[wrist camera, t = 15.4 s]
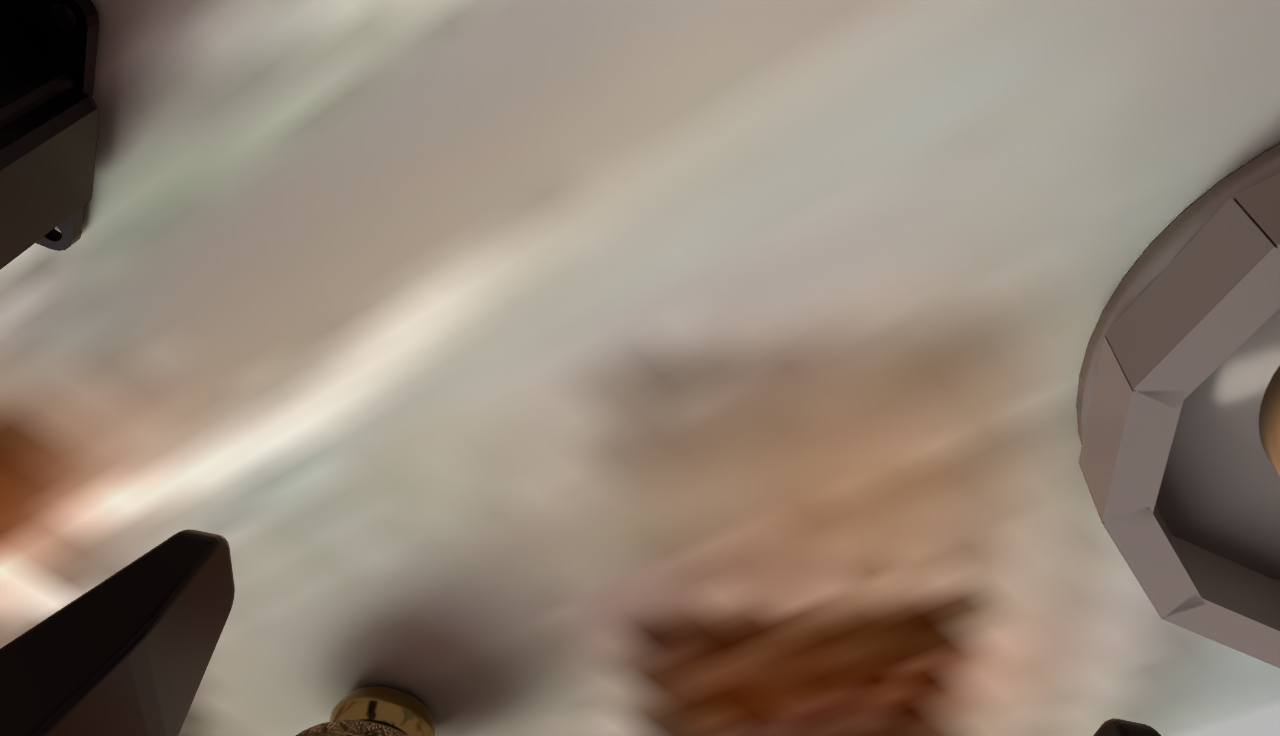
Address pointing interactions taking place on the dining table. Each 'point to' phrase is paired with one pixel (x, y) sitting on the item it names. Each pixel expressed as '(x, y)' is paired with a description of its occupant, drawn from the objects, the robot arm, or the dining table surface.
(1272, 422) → the disc
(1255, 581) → the round tray
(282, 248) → the dining table surface
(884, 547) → the dining table surface
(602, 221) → the dining table surface
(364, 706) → the cup
